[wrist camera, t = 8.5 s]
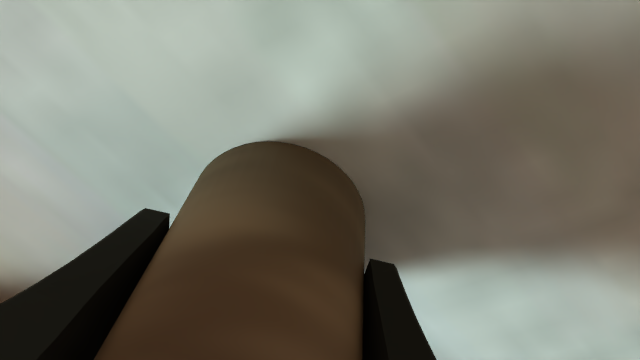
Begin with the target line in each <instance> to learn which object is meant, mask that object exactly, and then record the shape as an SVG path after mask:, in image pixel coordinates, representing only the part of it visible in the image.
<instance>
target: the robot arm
mask: <svg viewBox="0 0 640 360" xmlns="http://www.w3.org/2000/svg"><path fill="white" fill-rule="evenodd" d="M169 216H170V214H169V213H164V212H160V211H155V210H151V209H146V208H145V209H143V210H141V211H140V212H138V213H137V214H136V215H134V216H133V217H132V218H130V219H129V220H128V221H126V222H125V223H124V224H122V225H121V226H120V227H118V228H117V229H116V230H114V231H113V232H112V233H110V234H109V235H108V236H106V237H105V238H104V239H102V240H101V241H99V242H98V243H97V244H95V245H94V246H92V247H91V248H89V249H88V250H86V251H85V252H84V253H82V254H81V255H79V256H78V257H76V258H75V259H74V260H72V261H71V262H69V263H68V264H66V265H64V266H63V267H61V268H60V269H58V270H57V271H55V272H53V273H52V274H50V275H49V276H47V277H45V278H44V279H42V280H41V281H39V282H38V283H36V284H34V285H33V286H31V287H29V288H28V289H26V290H24V291H22V292H21V293H19V294H17V295H15V296H14V297H12V298H10V299H8V300H7V301H5V302H3V303H1V304H0V360H94V358H95V356H96V355H97V353H98V351H99V349H100V348H101V346H102V344H103V342H104V341H105V339H106V337H107V336H108V334H109V332H110V330H111V329H112V327H113V325H114V323H115V322H116V320H117V318H118V317H119V315H120V313H121V311H122V310H123V308H124V306H125V304H126V303H127V301H128V299H129V298H130V296H131V294H132V292H133V291H134V289H135V287H136V285H137V284H138V282H139V280H140V279H141V277H142V275H143V273H144V272H145V270H146V268H147V266H148V265H149V263H150V261H151V260H152V258H153V256H154V254H155V253H156V251H157V249H158V247H159V246H160V244H161V242H162V241H163V239H164V237H165V235H166V234H167V232H168V230H169ZM362 360H436V358H435V356H434V354H433V352H432V350H431V348H430V346H429V344H428V342H427V340H426V337H425V335H424V333H423V331H422V329H421V327H420V325H419V323H418V320H417V318H416V316H415V314H414V311H413V309H412V307H411V304H410V302H409V299H408V297H407V294H406V292H405V289H404V287H403V284H402V282H401V279H400V276H399V274H398V271H397V268H396V267H395V265H394V264H391V263H387V262H382V261H378V260H373V259H370V261H369V263H368V266H367V269H366V271H365V274H364V309H363V359H362Z"/></svg>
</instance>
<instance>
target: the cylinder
mask: <svg viewBox="0 0 640 360" xmlns="http://www.w3.org/2000/svg"><path fill="white" fill-rule="evenodd" d="M364 260H365V210H364V206H363V202H362V199H361V197H360V195H359V192H358V190H357V189H356V187H355V185H354V184H353V182H352V181H351V180H350V179H349V177H348V176H347V175H346V174H345V173H344V172H343V171H342V170H341V169H340V168H339V167H338V166H337V165H335V164H334V163H333V162H331V161H330V160H328V159H327V158H325V157H323V156H322V155H320V154H318V153H316V152H314V151H311V150H309V149H307V148H304V147H300V146H297V145H293V144H288V143H282V142H255V143H250V144H244V145H241V146H238V147H235V148H233V149H230V150H228V151H226V152H224V153H223V154H221V155H220V156H218V157H217V158H215V159H214V160H213V161H212V162H211V163H210V164H209V165H207V167H206V168H205V169H204V171H203V172H202V173H201V175H200V177H199V178H198V180H197V182H196V183H195V185H194V187H193V189H192V190H191V192H190V194H189V196H188V197H187V199H186V201H185V203H184V204H183V206H182V208H181V209H180V211H179V213H178V215H177V216H176V218H175V220H174V222H173V223H172V225H171V227H170V228H169V230H168V232H167V234H166V235H165V237H164V239H163V241H162V242H161V244H160V246H159V247H158V249H157V251H156V253H155V254H154V256H153V258H152V260H151V261H150V263H149V265H148V266H147V268H146V270H145V272H144V273H143V275H142V277H141V279H140V280H139V282H138V284H137V285H136V287H135V289H134V291H133V292H132V294H131V296H130V298H129V299H128V301H127V303H126V304H125V306H124V308H123V310H122V311H121V313H120V315H119V317H118V318H117V320H116V322H115V323H114V325H113V327H112V329H111V330H110V332H109V334H108V336H107V337H106V339H105V341H104V342H103V344H102V346H101V348H100V349H99V351H98V353H97V355H96V356H95V358H94V360H362V359H363V309H364Z"/></svg>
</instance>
